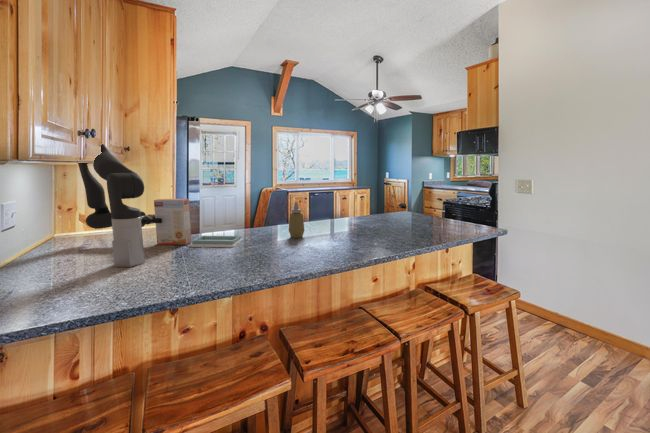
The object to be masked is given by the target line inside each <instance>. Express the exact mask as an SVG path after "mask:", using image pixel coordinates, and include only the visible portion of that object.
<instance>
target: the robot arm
mask: <svg viewBox="0 0 650 433" xmlns="http://www.w3.org/2000/svg"><path fill="white" fill-rule="evenodd" d="M101 152H102V153H101V154H100V155H98V156H97V157H96V158H95V160H94V163H92V166H93V169H94V171H95V173H96V174H97V175H98V176H99V177H100V178H102V179H103V180H105V181H106V190H107V195H108V196H107V197H108V202H109V206H108V205H107V203H106V202H107V201H106V194H105V188H104V187H103V186H102V184H101V182H99V181H98V179H97V178H96V177H95V176H94V175H93V174H92V173H91V171H90V169H89V166H88V165H89V164H91V163H78V162H77V164H78V168H79V172H80V176H81V178H82V181H83V186H84V190H85V195H86V196H85V197H86V202H87V207H88V208H90V209H91V210H92V209H94V212H92V213H90V214H88V215H87V217H86V218H85V224H86V225H87V226H88V227H89V228H92V229H95V230H100V229H101V230H102V229H108V228H112V238H113V240H112V242H111V246H112V254H113V265H114V267H117V268H121V267H123V268H125V267H126V268H131V267H133V266H138V265H142V264H143V263H145V252H144V240H143V238H144V237H143V227H145V226H146V225H153V224H156V223H162V218H155V213H154V214H153V213H152V214H146V212H144V211H143V210H140V208H137V207H133V206H129V205H126V204H124V202H123V200H124V199H125V200H126V199H128V200H129V199H136V198H140V197H141V196H142V195H143V194H144V192H145V184H144V181H143V178H142V177H141V176H140V175H139V174H138V172H135V171H133V170H132V169H129V168H128V167H127V166H126V165H124V164H123V163H122V162H121V161H120V160H119V159H118V158H117V157H116V156H114V155H113V154H112V153H111V151H110V150H109V149H108V147H107V146H106V145H105V144H104V143H103V144H102V145H101Z"/></svg>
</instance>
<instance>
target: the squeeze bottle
mask: <svg viewBox="0 0 650 433" xmlns="http://www.w3.org/2000/svg"><path fill="white" fill-rule="evenodd" d="M304 221H305V220H304V215H303V213H302V209H301V208H299V203H298V201H294V205H293V208H291V213H290V214H289V220H288V232H289V235H290V238H293V239H301V238H303V237H304V233H305V222H304Z"/></svg>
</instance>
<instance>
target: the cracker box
mask: <svg viewBox="0 0 650 433" xmlns="http://www.w3.org/2000/svg"><path fill="white" fill-rule="evenodd" d="M153 205H154V206H153V208H154V215H155V218H162V223H155V230H156V242H157V243H156V244H157V245H158V246H161V245H171V246H172V245H174V246H186V245H190V243H191V244H192V228H191V217H190V216H191V215H190V214H191V213H190V199H189V198H158V199H154V200H153Z"/></svg>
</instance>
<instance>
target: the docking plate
mask: <svg viewBox="0 0 650 433" xmlns="http://www.w3.org/2000/svg"><path fill="white" fill-rule="evenodd" d="M242 240H243V241H244V238H242V235H201V236H198V237H197V238H195V239H191V244H190V243H189V248H235V247H237V244H238V245H239V244H241V241H242ZM243 241H242V242H243Z"/></svg>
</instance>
